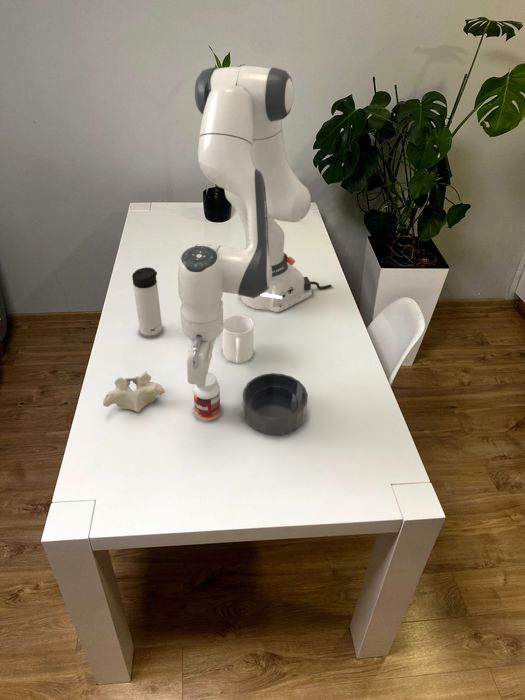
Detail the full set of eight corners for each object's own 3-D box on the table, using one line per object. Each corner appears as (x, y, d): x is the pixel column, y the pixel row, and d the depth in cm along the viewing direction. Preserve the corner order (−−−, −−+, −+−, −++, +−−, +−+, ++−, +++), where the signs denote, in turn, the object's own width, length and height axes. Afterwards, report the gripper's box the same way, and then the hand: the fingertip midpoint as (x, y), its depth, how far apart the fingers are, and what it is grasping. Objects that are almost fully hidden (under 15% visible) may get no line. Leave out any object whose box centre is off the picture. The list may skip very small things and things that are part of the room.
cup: (252, 343, 152) (253, 314, 146) (254, 372, 143) (255, 342, 137) (222, 344, 152) (222, 314, 145) (223, 373, 143) (222, 343, 136)
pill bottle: (189, 412, 131) (186, 379, 124) (207, 399, 135) (205, 366, 128) (207, 425, 128) (206, 392, 121) (225, 411, 132) (225, 378, 125)
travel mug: (159, 340, 152) (151, 279, 140) (136, 336, 153) (127, 276, 141) (166, 326, 157) (160, 267, 144) (145, 323, 158) (136, 263, 145)
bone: (164, 406, 134) (165, 384, 129) (111, 428, 128) (109, 406, 122) (148, 381, 139) (148, 360, 133) (96, 401, 132) (93, 379, 127)
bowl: (284, 383, 140) (285, 365, 136) (318, 421, 130) (320, 403, 127) (231, 403, 134) (231, 386, 130) (263, 445, 124) (264, 427, 120)
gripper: (209, 354, 106) (211, 405, 115) (223, 296, 122) (224, 344, 131) (177, 352, 106) (181, 402, 115) (195, 294, 122) (198, 342, 131)
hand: (204, 371), depth 123 cm, fingers open, 8 cm apart
